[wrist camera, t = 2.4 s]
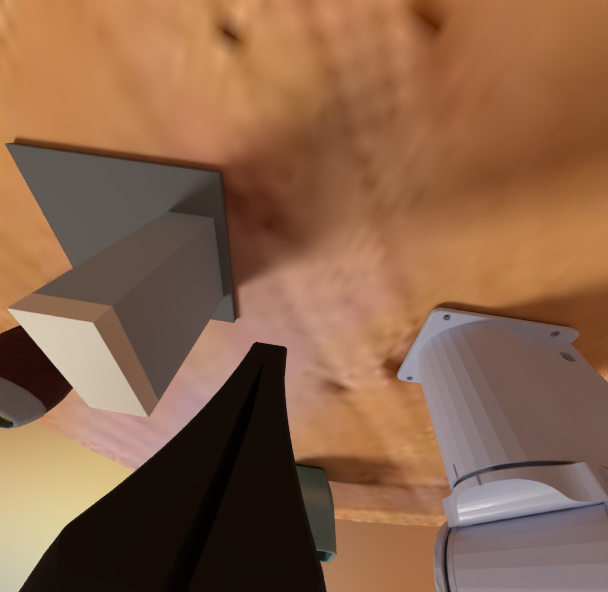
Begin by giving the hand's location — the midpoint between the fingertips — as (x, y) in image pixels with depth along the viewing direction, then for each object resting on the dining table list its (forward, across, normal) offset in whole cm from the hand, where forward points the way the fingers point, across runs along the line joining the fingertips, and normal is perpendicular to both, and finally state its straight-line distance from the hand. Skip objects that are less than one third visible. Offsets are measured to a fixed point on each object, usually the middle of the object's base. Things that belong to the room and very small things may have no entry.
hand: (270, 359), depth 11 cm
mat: (+7, +10, 0) cm, 13 cm away
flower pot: (+8, -4, +36) cm, 37 cm away
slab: (+7, +6, 0) cm, 10 cm away
